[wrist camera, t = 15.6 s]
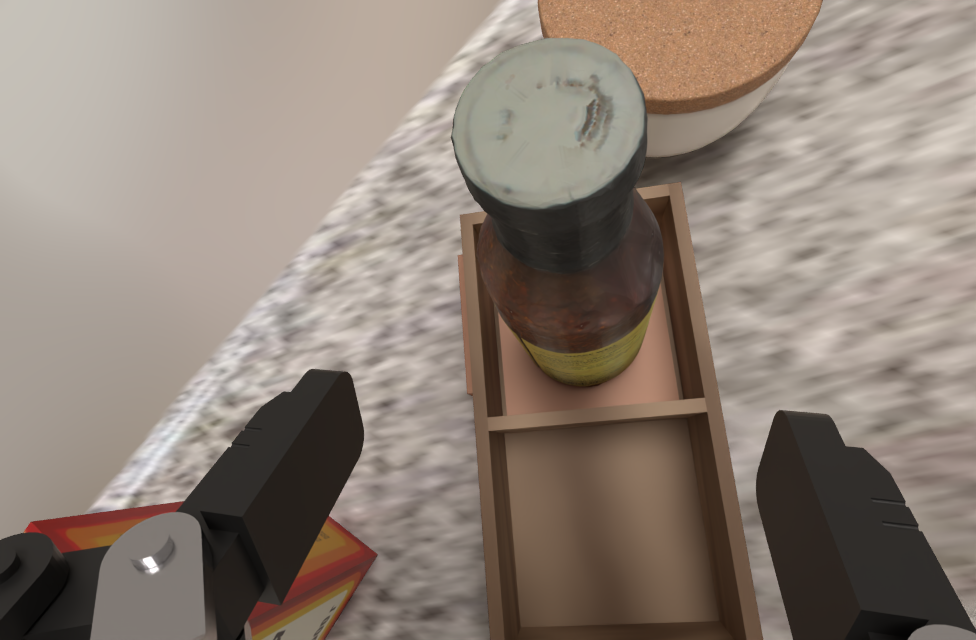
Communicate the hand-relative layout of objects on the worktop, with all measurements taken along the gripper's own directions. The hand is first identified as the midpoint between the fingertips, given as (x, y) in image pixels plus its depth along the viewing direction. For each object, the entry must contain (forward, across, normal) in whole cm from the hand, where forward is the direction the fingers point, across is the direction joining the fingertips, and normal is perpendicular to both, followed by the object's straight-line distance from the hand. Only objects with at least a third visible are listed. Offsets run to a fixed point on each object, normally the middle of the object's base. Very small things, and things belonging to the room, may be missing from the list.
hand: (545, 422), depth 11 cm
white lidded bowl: (+29, -4, 0) cm, 29 cm away
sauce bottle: (+18, 0, +9) cm, 20 cm away
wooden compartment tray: (+15, -1, +13) cm, 20 cm away
